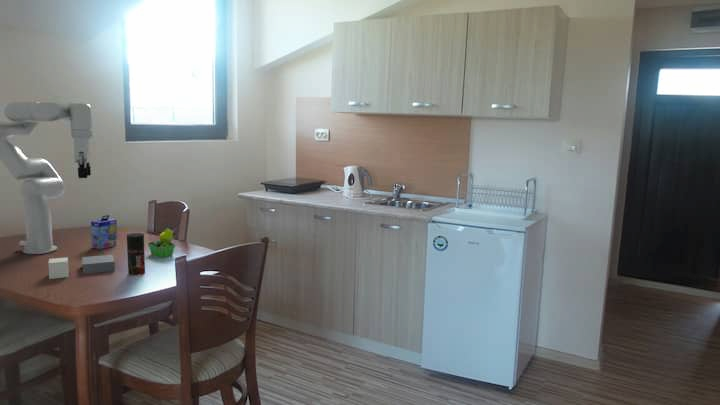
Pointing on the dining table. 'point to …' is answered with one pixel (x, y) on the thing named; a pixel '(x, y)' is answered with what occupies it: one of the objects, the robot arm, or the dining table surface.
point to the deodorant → (136, 254)
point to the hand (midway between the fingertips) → (84, 176)
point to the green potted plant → (163, 245)
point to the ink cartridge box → (104, 232)
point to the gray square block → (98, 264)
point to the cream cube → (58, 268)
